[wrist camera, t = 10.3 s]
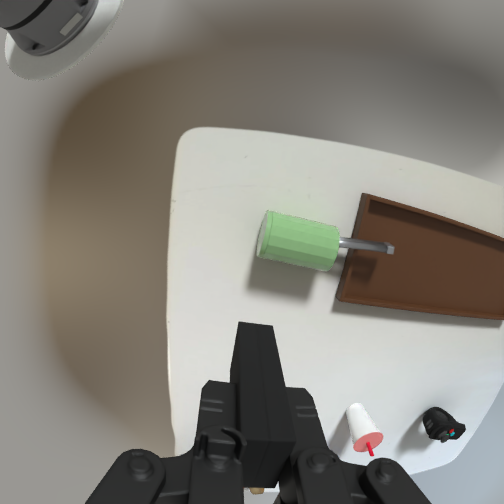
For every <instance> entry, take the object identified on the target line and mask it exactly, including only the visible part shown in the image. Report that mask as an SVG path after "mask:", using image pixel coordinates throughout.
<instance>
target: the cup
mask: <svg viewBox="0 0 504 504" xmlns="http://www.w3.org/2000/svg"><path fill="white" fill-rule="evenodd" d="M346 415H347V420H348V424H349V428H350V432H351V436H352V441H353V445H354V446H353V448H354V450H355V451H357V452H365V451H369V454H370V456H374V454H373V451H372V449H373V448H375V447H376V446H378V445H379V444H380V443H381V442H382V440H383V434H382V433H380V431H379V430H378V428H377V427H376V425H375V423H374V422H373V420H372V419H371V417H370V416H369V414H368V413H367V411H366V410H365V408H364V407H363V406H362V404H360V403H355V404H352V405H350V406H349V407H348V408H347V409H346Z"/></svg>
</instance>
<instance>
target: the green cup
mask: <svg viewBox="0 0 504 504" xmlns="http://www.w3.org/2000/svg"><path fill="white" fill-rule="evenodd" d="M339 242H340V237H339V230H338V228H337V227H335V226H332V225H328V224H324V223H320V222H316V221H312V220H308V219H304V218H300V217H296V216H291V215H287V214H283V213H279V212H275V211H269V210H267V211H266V213H265V215H264V218H263V221H262V225H261V229H260V233H259V238H258V244H257V257H261V258H264V259H269V260H273V261H278V262H283V263H287V264H292V265H297V266H301V267H306V268H311V269H316V270H320V271H329V270H330V268H331V267H332V266H333V264H334V262H335V259H336V256H337V253H338V249H339Z"/></svg>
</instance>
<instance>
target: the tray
mask: <svg viewBox="0 0 504 504" xmlns="http://www.w3.org/2000/svg"><path fill="white" fill-rule="evenodd" d="M352 238H353V239H361V240H369V241H377V242H388V243H390V244H391V245H393V246H394V247H395V248H394V253H393V254H387V253H383V252H375V251H367V250H359V249H351V248H349V250H348V253H347V257H346V261H345V265H344V268H343V272H342V275H341V279H340V282H339V286H338V289H337V293H336V297H337V299H338V300H339V301H340V302H348V303H355V304H362V305H370V306H377V307H385V308H393V309H401V310H409V311H418V312H427V313H435V314H445V315H454V316H464V317H474V318H484V319H496V320H504V238H502V237H499V236H497V235H494V234H491V233H489V232H486V231H483V230H480V229H478V228H475V227H472V226H469V225H467V224H464V223H461V222H458V221H455V220H452V219H449V218H446V217H443V216H440V215H437V214H434V213H431V212H428V211H424V210H421V209H418V208H415V207H411V206H408V205H405V204H401V203H398V202H395V201H391V200H388V199H384V198H381V197H377V196H373V195H370V194H366V193H362V196H361V200H360V205H359V209H358V213H357V218H356V222H355V226H354V230H353V234H352Z"/></svg>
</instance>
